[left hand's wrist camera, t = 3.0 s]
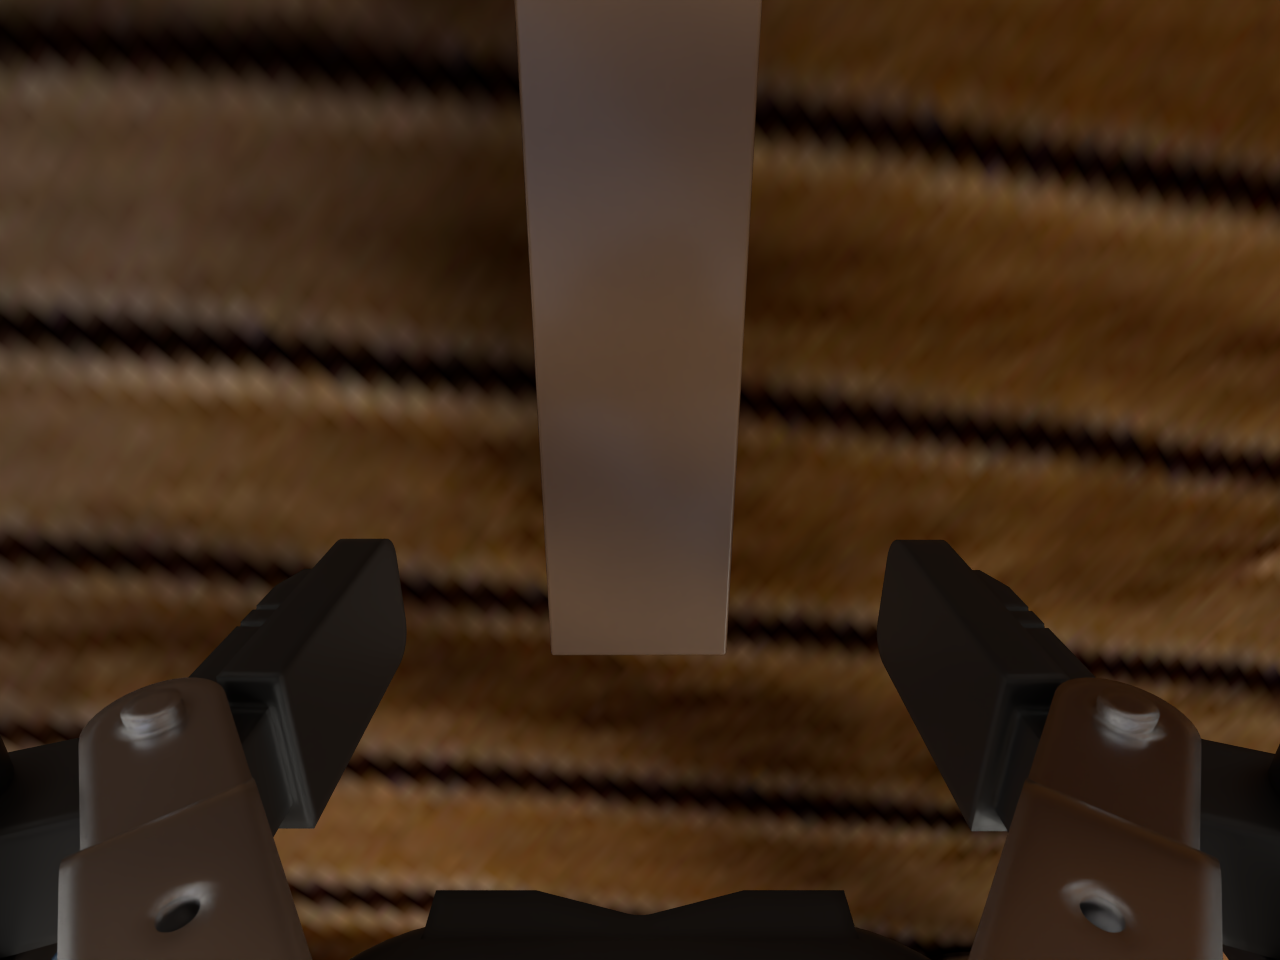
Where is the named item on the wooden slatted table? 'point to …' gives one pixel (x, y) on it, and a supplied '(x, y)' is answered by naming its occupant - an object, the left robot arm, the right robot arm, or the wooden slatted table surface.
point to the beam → (638, 308)
